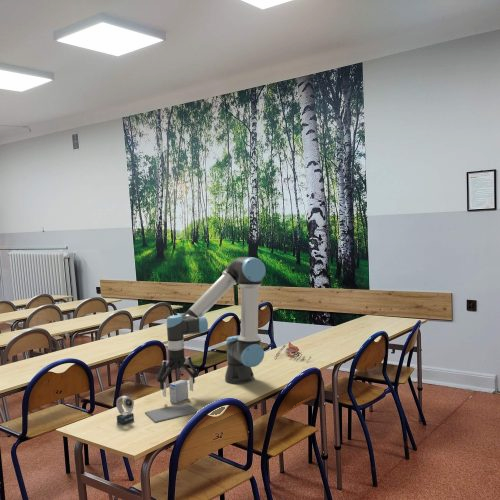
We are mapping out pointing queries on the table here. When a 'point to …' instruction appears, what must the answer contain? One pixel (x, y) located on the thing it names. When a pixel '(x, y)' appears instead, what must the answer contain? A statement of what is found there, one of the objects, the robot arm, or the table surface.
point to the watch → (128, 404)
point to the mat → (171, 412)
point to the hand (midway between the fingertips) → (178, 393)
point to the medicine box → (178, 391)
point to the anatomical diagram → (291, 349)
